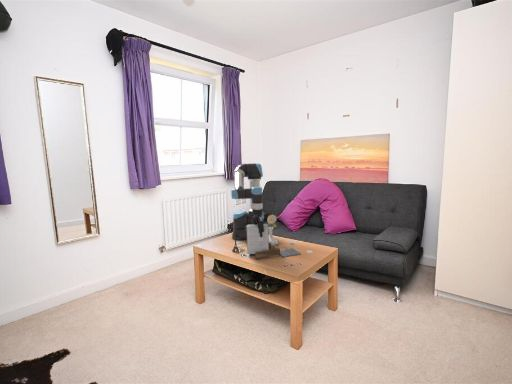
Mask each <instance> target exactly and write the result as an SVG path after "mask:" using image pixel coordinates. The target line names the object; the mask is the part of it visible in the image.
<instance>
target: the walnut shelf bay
mask: <svg viewBox="0 0 512 384" xmlns="http://www.w3.org/2000/svg"><path fill="white" fill-rule="evenodd" d="M280 250H281V249H280V248H279V247H278V246H276V244H275V245H274V244H272V243H271V242H270V243H269V250H266V251H260V252H255V254H254V256H255V260H256V261H257V260H262V259H268V258H274V257H279V256H281V255H280Z"/></svg>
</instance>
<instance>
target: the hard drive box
mask: <svg viewBox="0 0 512 384" xmlns="http://www.w3.org/2000/svg"><path fill="white" fill-rule="evenodd" d="M263 227H264V232H263V241H260V242H259V233H258V232H259V229H258V224H255V225H254V224H251V225H247V227H246V230H247V239H246V247H247V249H246V251H247V254H249V255H255V252H260V251H266V250H270V249H269V229H268V227H269V223H263ZM261 231H262V230H261Z"/></svg>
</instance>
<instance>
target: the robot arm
mask: <svg viewBox="0 0 512 384" xmlns="http://www.w3.org/2000/svg"><path fill="white" fill-rule="evenodd" d="M232 174H233V177H234V183H233V186H234V187H233V188H232V189H231V191H230V193H231V194H230V195H231V196H230V197H231V199H233V200H246V199H247V200H248V199H249V201H250V206H249V207H250V208H249V210H248V212H247V211H246V210H237V211H235V212H234V213H233V214H232V221H233V223H232V224H233V230H232V233H231V239H233V240H235V236H236V241H242V240H243V241H245V240H247V230H246V227H247V225H251V224H254V225H255V224H258V229H259V232H258V233H259V242H260V241H263V232H264V227H263V224H264V218H265V216H264V215H265V214H264V210H263V206H264V205H263V188H262V187H261V186H260V181H261V180H262V178H263V177H264V173H263V168H262V164H261V163H242V164H239V165H237V166H236V167H235V168H234V170H233V173H232ZM244 178H247V181H248V182H249V188H245V181H244V180H245V179H244ZM261 230H262V231H261Z"/></svg>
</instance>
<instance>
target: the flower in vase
mask: <svg viewBox="0 0 512 384" xmlns="http://www.w3.org/2000/svg"><path fill="white" fill-rule="evenodd" d="M266 219H267V220H266V221H267V224H268V233H269V243H270V242H271V243H272V244H274V245H275V246H276V245H278V243H279V242H278V240H277V239H276V238H275V237H274V236H273V229H274V228H277V227H278V226H277V224H276V222H277V216H276V214H275V215H274V214H270V215H268V216H267V218H266Z"/></svg>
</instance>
